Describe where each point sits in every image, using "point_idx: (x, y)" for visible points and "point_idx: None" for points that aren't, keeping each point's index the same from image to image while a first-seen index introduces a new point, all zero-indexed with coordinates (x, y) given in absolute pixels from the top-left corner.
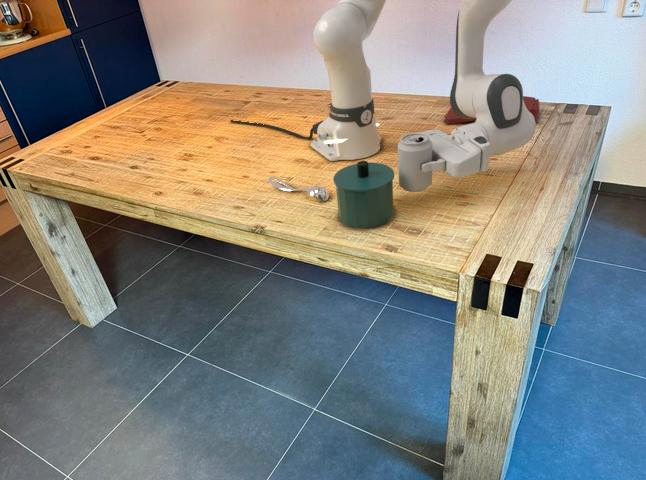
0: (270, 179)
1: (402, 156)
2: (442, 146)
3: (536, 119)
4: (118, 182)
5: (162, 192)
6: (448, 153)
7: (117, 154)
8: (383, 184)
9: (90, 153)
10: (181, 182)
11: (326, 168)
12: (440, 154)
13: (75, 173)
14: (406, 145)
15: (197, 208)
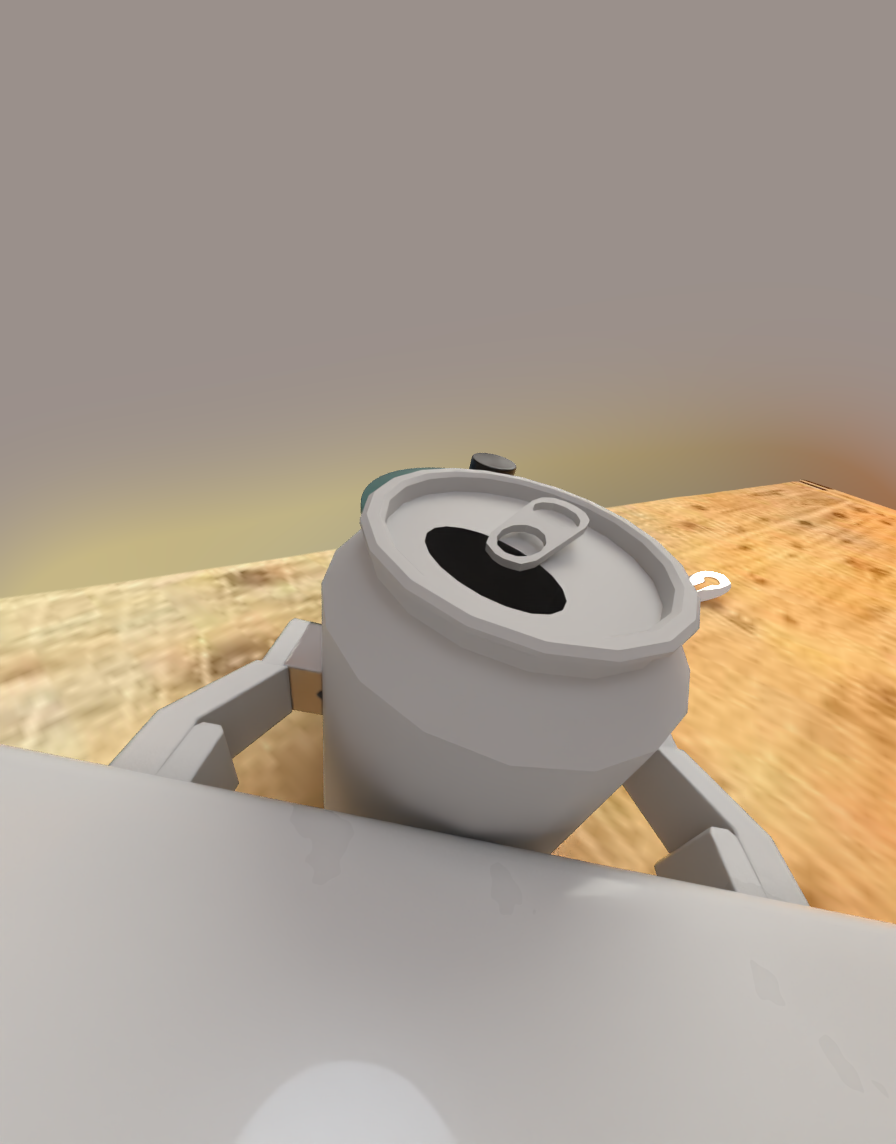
0: (716, 576)
1: (458, 552)
2: (381, 1117)
3: None
4: (746, 502)
5: (703, 510)
6: (62, 900)
7: (861, 529)
8: (363, 499)
9: (859, 518)
10: (740, 529)
11: (832, 727)
12: (218, 791)
13: (780, 495)
14: (467, 492)
15: (633, 509)
